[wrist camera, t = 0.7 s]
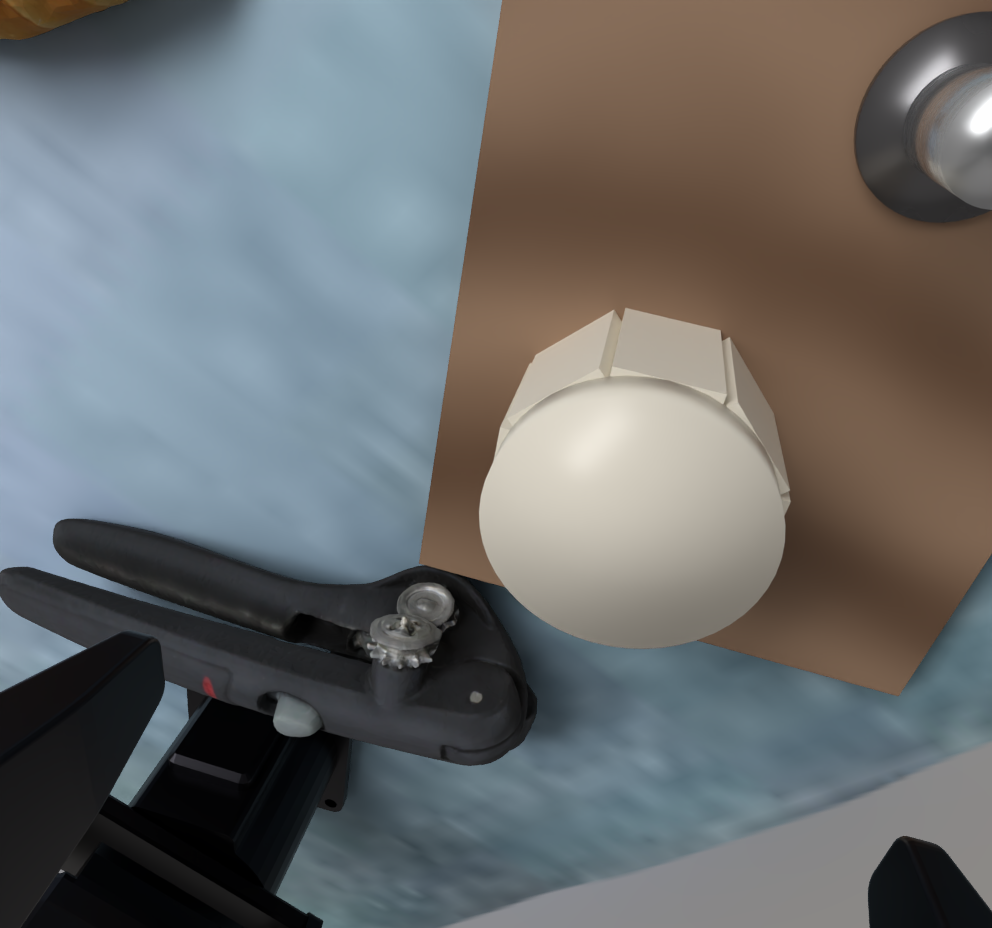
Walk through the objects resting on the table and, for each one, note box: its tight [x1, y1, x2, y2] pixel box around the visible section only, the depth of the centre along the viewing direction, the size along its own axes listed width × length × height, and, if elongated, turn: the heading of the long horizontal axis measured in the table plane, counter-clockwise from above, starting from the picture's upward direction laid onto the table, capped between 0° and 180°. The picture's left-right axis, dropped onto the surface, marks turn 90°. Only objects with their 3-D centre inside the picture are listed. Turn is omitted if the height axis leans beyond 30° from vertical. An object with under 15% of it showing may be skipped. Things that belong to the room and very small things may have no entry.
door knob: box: [854, 11, 992, 223], centre depth 14 cm, size 4×4×4 cm
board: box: [419, 0, 992, 696], centre depth 17 cm, size 20×14×1 cm
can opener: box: [0, 519, 537, 766], centre depth 24 cm, size 18×7×6 cm, turn 82°
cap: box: [479, 308, 791, 649], centre depth 17 cm, size 6×6×4 cm
